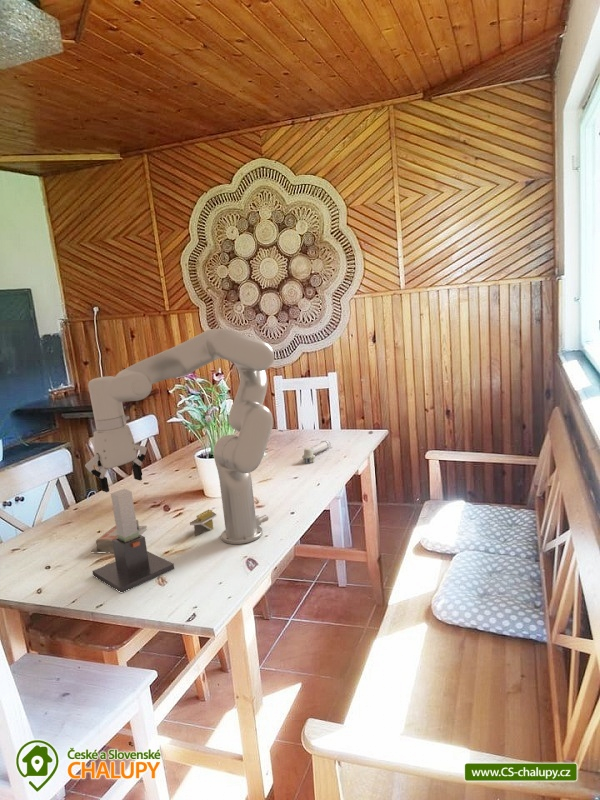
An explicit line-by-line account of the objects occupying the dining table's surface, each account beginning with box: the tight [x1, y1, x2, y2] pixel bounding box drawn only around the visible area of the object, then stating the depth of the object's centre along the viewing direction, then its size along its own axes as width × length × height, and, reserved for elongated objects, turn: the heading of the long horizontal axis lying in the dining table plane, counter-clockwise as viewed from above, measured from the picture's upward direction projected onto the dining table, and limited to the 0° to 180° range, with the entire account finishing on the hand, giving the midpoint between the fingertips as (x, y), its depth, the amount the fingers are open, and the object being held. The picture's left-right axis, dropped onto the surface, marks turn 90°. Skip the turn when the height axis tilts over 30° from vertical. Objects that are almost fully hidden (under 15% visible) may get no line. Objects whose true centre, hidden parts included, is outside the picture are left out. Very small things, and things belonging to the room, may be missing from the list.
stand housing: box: [92, 534, 175, 593], centre depth 158 cm, size 16×16×10 cm
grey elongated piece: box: [302, 440, 331, 464], centre depth 255 cm, size 5×7×25 cm
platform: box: [189, 509, 217, 537], centre depth 182 cm, size 12×18×7 cm, turn 148°
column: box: [110, 488, 139, 544], centre depth 156 cm, size 4×4×16 cm
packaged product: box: [90, 519, 148, 554], centre depth 181 cm, size 18×5×10 cm
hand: (122, 485), depth 155 cm, fingers open, 9 cm apart
